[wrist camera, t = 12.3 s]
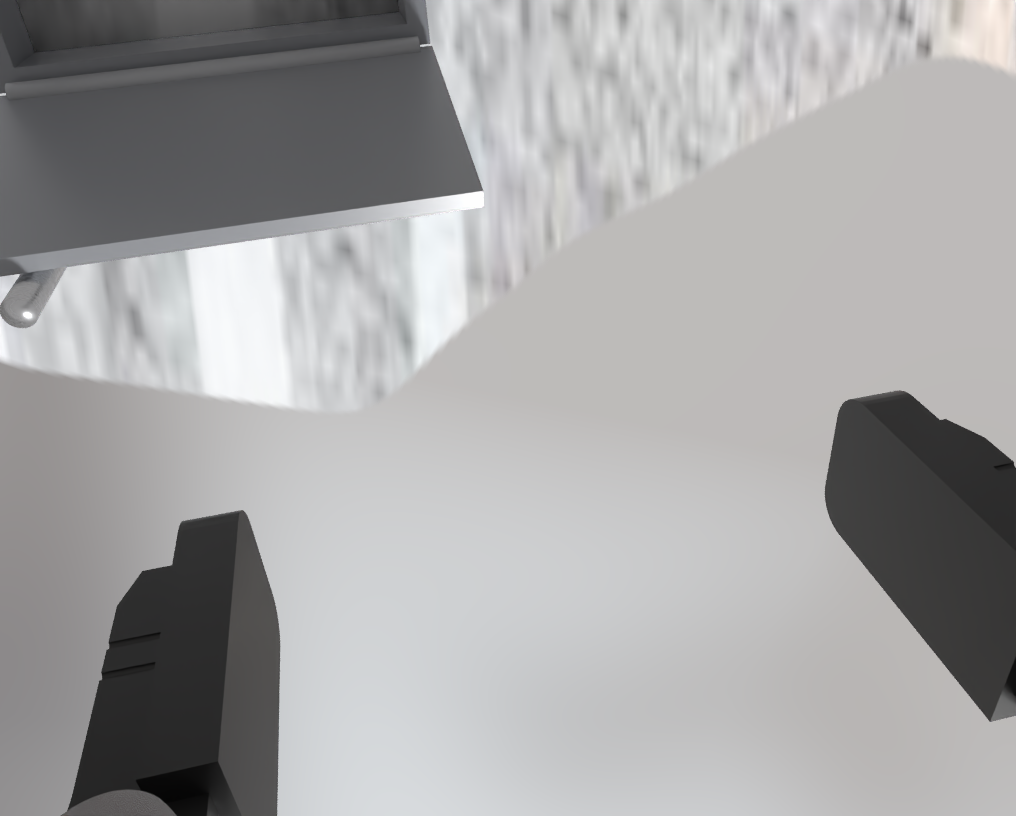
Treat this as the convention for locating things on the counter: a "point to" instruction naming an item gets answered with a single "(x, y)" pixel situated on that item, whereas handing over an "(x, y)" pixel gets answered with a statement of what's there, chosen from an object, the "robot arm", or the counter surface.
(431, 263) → the counter surface
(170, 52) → the case
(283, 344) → the counter surface
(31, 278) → the rod
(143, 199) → the lid
